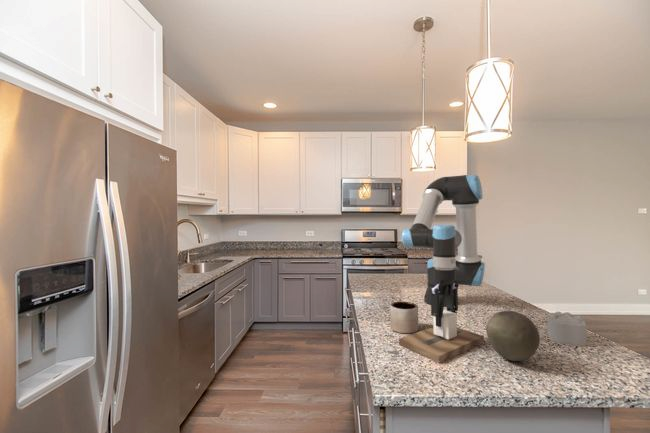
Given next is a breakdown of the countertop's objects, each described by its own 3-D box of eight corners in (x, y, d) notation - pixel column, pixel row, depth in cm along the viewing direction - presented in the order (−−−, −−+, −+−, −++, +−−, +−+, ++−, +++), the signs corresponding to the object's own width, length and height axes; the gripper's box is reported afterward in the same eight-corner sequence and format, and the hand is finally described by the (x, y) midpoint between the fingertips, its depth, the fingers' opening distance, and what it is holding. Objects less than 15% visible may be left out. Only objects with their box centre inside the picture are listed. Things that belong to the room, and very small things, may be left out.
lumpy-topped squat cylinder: (552, 342, 106) (552, 317, 106) (543, 329, 117) (543, 307, 117) (590, 347, 101) (590, 322, 101) (577, 333, 113) (577, 310, 113)
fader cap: (441, 330, 110) (441, 309, 110) (456, 336, 106) (456, 313, 105) (433, 333, 108) (433, 311, 108) (448, 339, 103) (448, 316, 103)
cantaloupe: (483, 347, 102) (483, 303, 102) (532, 354, 97) (532, 308, 97) (490, 367, 89) (489, 317, 89) (547, 376, 84) (546, 322, 84)
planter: (407, 322, 127) (406, 300, 127) (424, 331, 116) (424, 307, 116) (385, 326, 123) (384, 303, 123) (401, 336, 113) (400, 310, 113)
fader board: (443, 328, 119) (443, 322, 119) (484, 342, 106) (483, 335, 106) (399, 344, 105) (399, 338, 105) (439, 363, 92) (439, 355, 92)
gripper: (437, 272, 98) (438, 343, 98) (468, 267, 108) (469, 330, 109) (419, 269, 105) (420, 335, 105) (449, 264, 115) (450, 324, 115)
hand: (445, 333), depth 107 cm, fingers closed on fader cap, 5 cm apart
